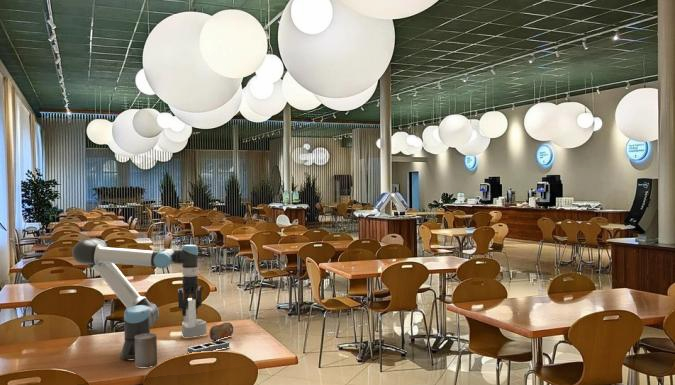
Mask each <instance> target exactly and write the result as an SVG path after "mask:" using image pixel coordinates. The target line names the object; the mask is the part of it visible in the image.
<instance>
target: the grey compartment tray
mask: <svg viewBox="0 0 675 385" xmlns="http://www.w3.org/2000/svg"><path fill="white" fill-rule="evenodd" d="M227 347H229V348H230V342H229V341H226V340H219V341H211V342H206V343H201V344H197V345H192V346H188V347H187V353H188V352H189V353H192V352H201V351H213V350H216V349H222V348H227Z"/></svg>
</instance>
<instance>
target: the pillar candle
mask: <svg viewBox="0 0 675 385" xmlns="http://www.w3.org/2000/svg"><path fill="white" fill-rule="evenodd" d="M134 338H135V360H134V365H135V366H137V367H150V366H154V365H156V364H157V365H158V349H157V348H158V345H157V344H158V343H157V341H158V340H157V334H156V333H153V332H150V333H145V334H139V335H136V336H135V337H134ZM157 365H156V366H157ZM137 367H136V368H137ZM154 367H155V366H154Z"/></svg>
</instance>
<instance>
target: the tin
mask: <svg viewBox="0 0 675 385" xmlns="http://www.w3.org/2000/svg"><path fill="white" fill-rule="evenodd" d="M208 333H209V338H210V340H212V341H213V340H218V339H221V338H224V337H228V336H231V337H232V336H233V334H234V326H233V324H232V323H231V322H222V323H218V324H214V325H213V326H211V328H210V330H209V332H208Z"/></svg>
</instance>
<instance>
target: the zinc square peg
mask: <svg viewBox="0 0 675 385" xmlns="http://www.w3.org/2000/svg"><path fill="white" fill-rule="evenodd" d="M196 299H197V298H196ZM196 299H192V297H188V303H187V308H186V309H187V310H188V323H186V322H184V321H183V322H184V327H187V328H191V327H195V306H196Z"/></svg>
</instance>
